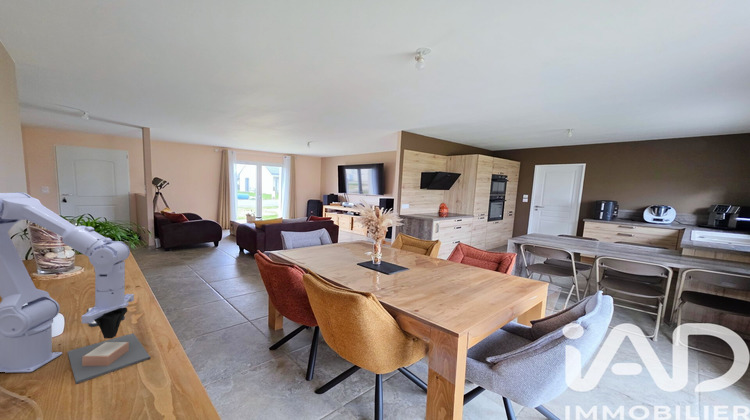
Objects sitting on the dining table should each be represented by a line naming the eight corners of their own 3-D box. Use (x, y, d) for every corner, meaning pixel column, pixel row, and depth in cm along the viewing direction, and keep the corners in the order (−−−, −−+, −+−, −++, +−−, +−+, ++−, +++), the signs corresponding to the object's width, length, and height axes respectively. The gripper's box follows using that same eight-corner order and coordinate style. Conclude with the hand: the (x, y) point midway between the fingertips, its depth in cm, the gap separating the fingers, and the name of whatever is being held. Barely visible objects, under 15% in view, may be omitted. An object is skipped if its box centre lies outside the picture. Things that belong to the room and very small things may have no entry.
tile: (105, 350, 79) (82, 365, 72) (105, 341, 78) (82, 356, 71) (128, 350, 79) (108, 365, 72) (128, 341, 79) (108, 356, 72)
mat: (150, 358, 77) (150, 356, 77) (76, 384, 66) (76, 381, 66) (133, 334, 88) (133, 333, 88) (67, 353, 77) (67, 351, 77)
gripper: (104, 298, 68) (104, 352, 69) (145, 279, 83) (144, 324, 84) (71, 298, 67) (71, 352, 68) (119, 279, 82) (118, 324, 83)
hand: (110, 337), depth 76 cm, fingers closed
